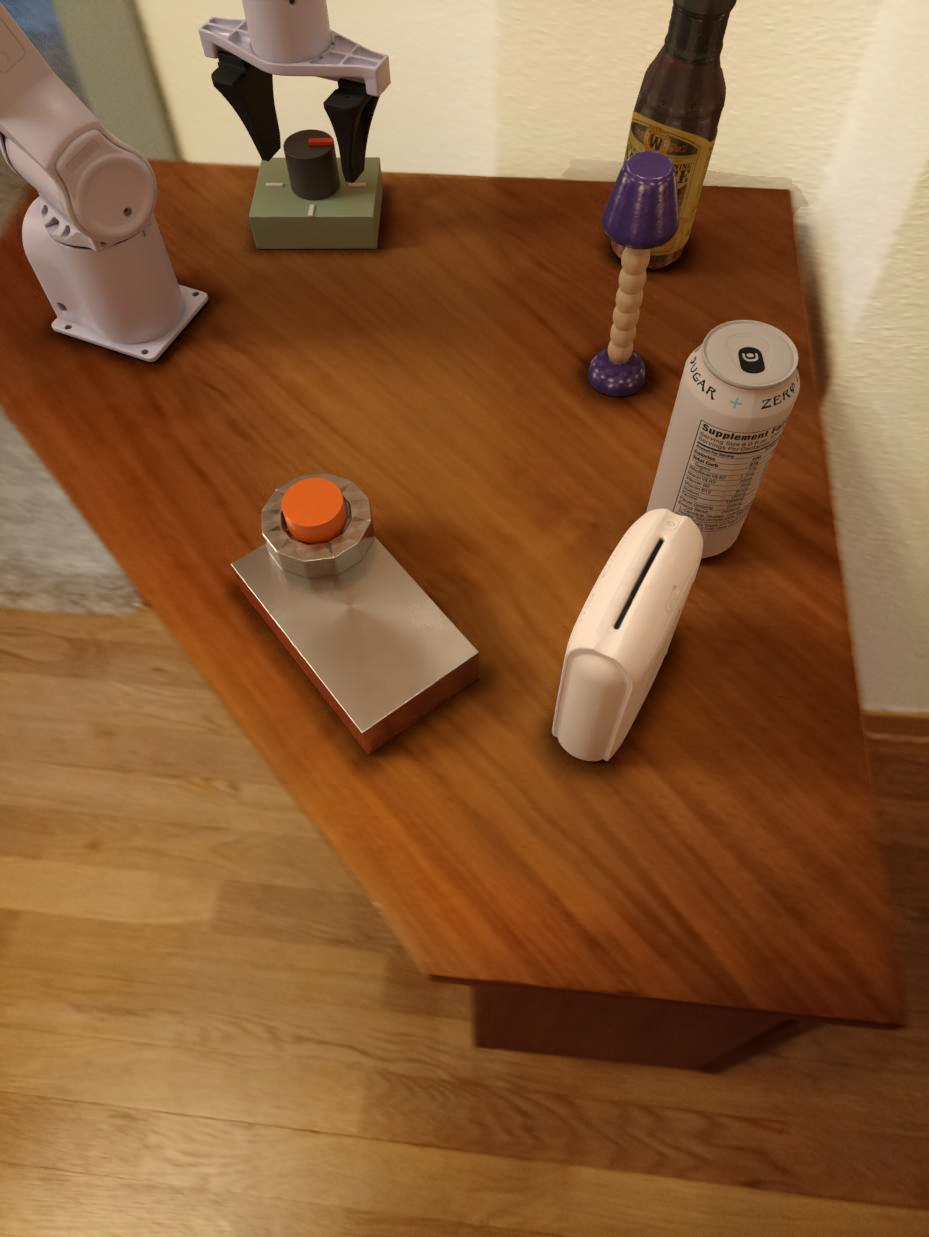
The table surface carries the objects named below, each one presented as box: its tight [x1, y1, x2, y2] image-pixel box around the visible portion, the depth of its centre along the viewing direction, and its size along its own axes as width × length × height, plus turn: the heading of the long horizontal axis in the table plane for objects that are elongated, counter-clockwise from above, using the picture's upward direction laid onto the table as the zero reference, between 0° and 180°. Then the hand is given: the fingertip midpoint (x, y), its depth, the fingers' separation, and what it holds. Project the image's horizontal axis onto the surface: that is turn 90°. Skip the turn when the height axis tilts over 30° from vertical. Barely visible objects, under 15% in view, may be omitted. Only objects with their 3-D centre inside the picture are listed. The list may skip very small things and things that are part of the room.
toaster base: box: [230, 472, 480, 756], centre depth 52 cm, size 16×9×5 cm, turn 38°
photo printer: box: [551, 509, 703, 762], centre depth 47 cm, size 10×4×12 cm, turn 151°
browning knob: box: [282, 129, 340, 200], centre depth 71 cm, size 4×4×4 cm
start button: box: [281, 478, 347, 544], centre depth 52 cm, size 4×4×2 cm
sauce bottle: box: [610, 0, 738, 270], centre depth 64 cm, size 6×6×20 cm
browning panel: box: [248, 156, 384, 250], centre depth 74 cm, size 10×8×3 cm
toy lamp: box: [587, 151, 679, 398], centre depth 58 cm, size 5×5×17 cm
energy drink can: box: [645, 319, 801, 560], centre depth 51 cm, size 6×6×15 cm
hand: (312, 164), depth 71 cm, fingers open, 7 cm apart
